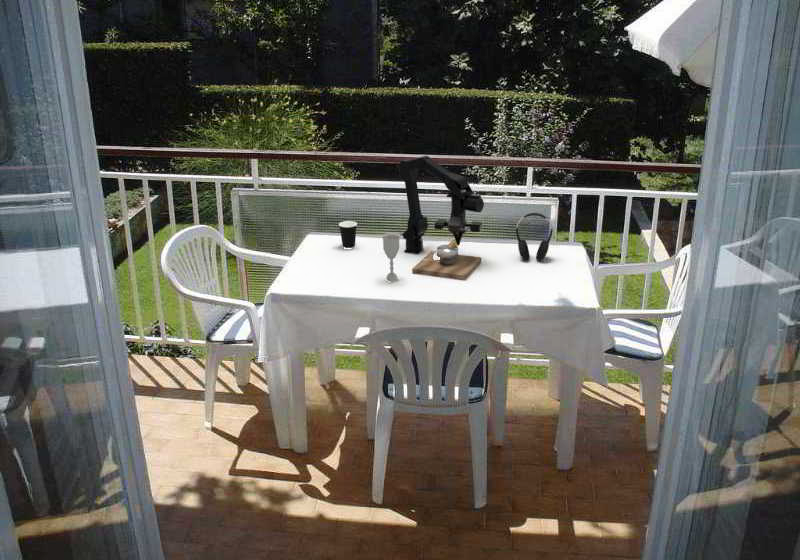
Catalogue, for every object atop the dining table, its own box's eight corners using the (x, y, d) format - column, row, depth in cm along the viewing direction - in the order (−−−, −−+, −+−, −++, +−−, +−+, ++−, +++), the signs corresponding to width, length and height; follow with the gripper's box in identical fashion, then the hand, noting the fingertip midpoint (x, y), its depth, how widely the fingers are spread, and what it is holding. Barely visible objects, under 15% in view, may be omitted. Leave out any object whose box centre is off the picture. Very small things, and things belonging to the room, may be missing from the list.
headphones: (550, 264, 314) (553, 216, 307) (514, 262, 317) (516, 215, 309) (550, 256, 322) (553, 210, 315) (515, 255, 325) (517, 209, 317)
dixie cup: (361, 247, 336) (360, 223, 332) (347, 252, 331) (346, 227, 327) (349, 243, 341) (348, 219, 337) (336, 248, 336) (334, 223, 332)
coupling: (454, 259, 305) (454, 252, 304) (434, 257, 308) (434, 249, 307) (465, 247, 318) (465, 240, 317) (446, 245, 321) (446, 238, 320)
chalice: (387, 284, 296) (386, 239, 290) (379, 278, 302) (378, 234, 295) (404, 280, 299) (403, 236, 293) (396, 275, 305) (395, 231, 298)
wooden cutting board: (412, 273, 307) (412, 261, 305) (431, 255, 325) (431, 244, 324) (465, 280, 299) (465, 268, 297) (481, 261, 318) (481, 250, 316)
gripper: (430, 212, 306) (431, 250, 311) (476, 215, 300) (476, 253, 306) (438, 205, 316) (438, 241, 321) (482, 208, 310) (482, 244, 316)
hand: (458, 245), depth 316 cm, fingers closed
